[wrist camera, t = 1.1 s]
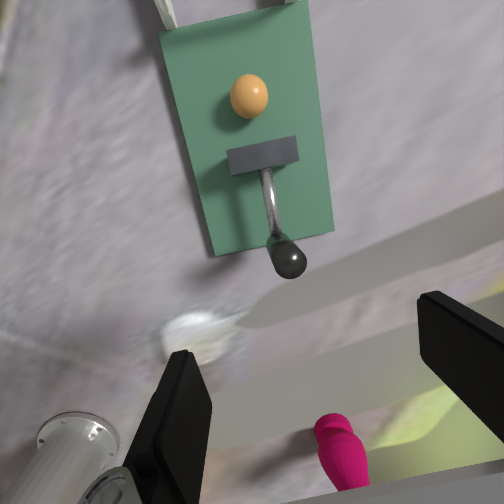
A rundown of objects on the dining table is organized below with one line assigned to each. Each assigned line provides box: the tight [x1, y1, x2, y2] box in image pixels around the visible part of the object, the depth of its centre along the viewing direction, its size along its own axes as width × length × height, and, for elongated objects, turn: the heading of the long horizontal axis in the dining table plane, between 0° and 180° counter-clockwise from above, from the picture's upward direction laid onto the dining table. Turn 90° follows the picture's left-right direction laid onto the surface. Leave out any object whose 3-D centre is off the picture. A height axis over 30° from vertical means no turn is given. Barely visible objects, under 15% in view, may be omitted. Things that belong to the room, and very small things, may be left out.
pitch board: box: [158, 0, 335, 256], centre depth 30 cm, size 25×16×2 cm, turn 12°
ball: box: [230, 74, 268, 119], centre depth 26 cm, size 4×4×4 cm
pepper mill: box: [314, 413, 370, 492], centre depth 33 cm, size 7×7×20 cm
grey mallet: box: [226, 135, 307, 279], centre depth 25 cm, size 12×7×11 cm, turn 12°
